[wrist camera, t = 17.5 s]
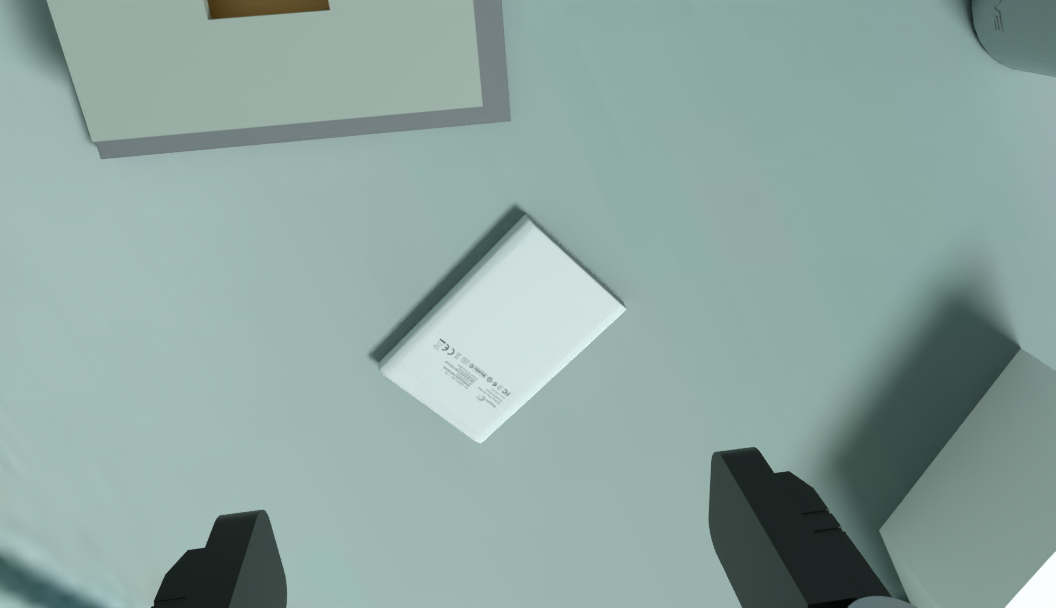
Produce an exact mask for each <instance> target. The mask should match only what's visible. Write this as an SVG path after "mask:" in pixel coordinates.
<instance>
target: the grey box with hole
mask: <svg viewBox="0 0 1056 608" xmlns="http://www.w3.org/2000/svg"><path fill="white" fill-rule="evenodd" d="M328 1H329V7H330V10H318V11H306V12H293V13H280V14H268V15H255V16H243V17H230V18H218V19H211V14H210V10H209V6H208V2H207V0H47V4H48V7H49V10H50V13H51V16H52V19H53V22H54V25H55V28H56V31H57V34H58V37H59V41H60V44H61V47H62V50H63V53H64V56H65V59H66V62H67V65H68V68H69V71H70V75H71V78H72V81H73V84H74V87H75V90H76V93H77V96H78V99H79V102H80V105H81V109H82V112H83V115H84V118H85V121H86V124H87V127H88V130H89V133H90V136H91V139H92V142H96V145H97V148H98V151H99V154H100V158H101V159H108V158H119V157H130V156H140V155H151V154H162V153H173V152H183V151H194V150H205V149H216V148H226V147H237V146H248V145H259V144H269V143H280V142H291V141H302V140H312V139H323V138H334V137H345V136H355V135H366V134H377V133H388V132H398V131H409V130H420V129H431V128H441V127H452V126H463V125H474V124H485V123H495V122H506V121H511V118H510V105H509V92H508V79H507V66H506V53H505V40H504V27H503V14H502V1H501V0H328Z"/></svg>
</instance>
